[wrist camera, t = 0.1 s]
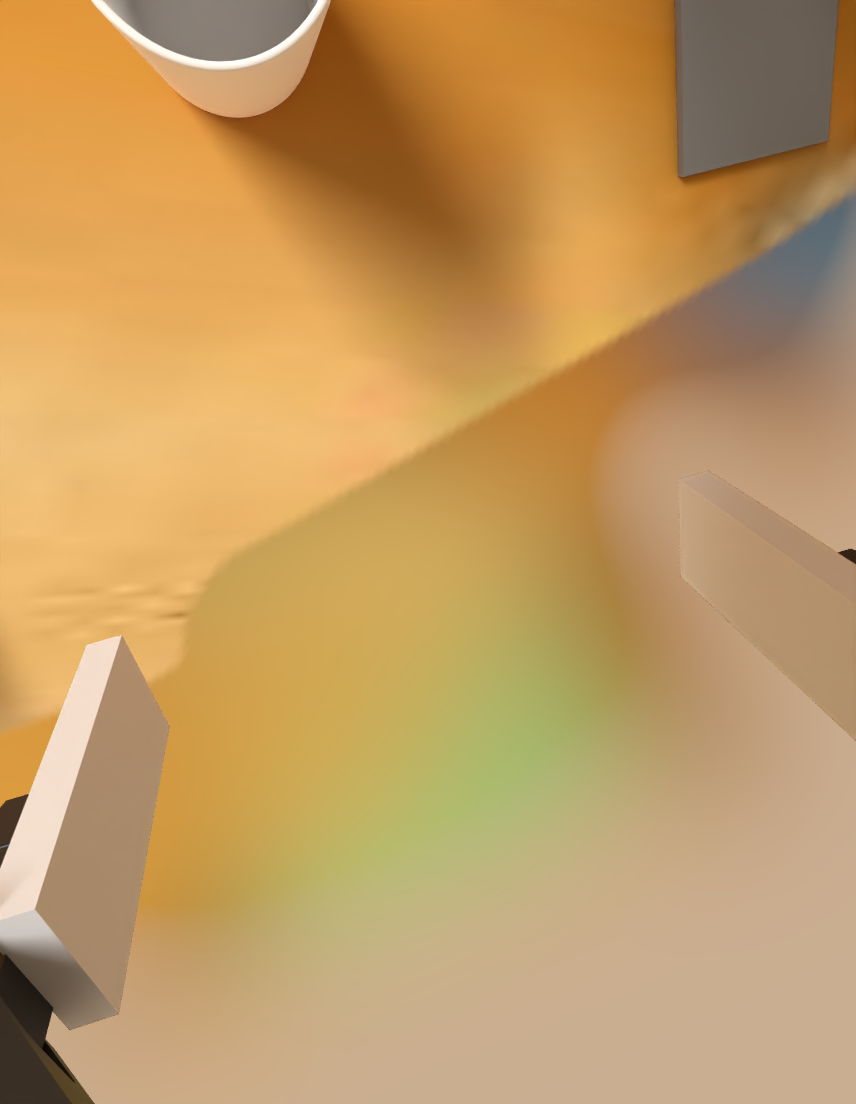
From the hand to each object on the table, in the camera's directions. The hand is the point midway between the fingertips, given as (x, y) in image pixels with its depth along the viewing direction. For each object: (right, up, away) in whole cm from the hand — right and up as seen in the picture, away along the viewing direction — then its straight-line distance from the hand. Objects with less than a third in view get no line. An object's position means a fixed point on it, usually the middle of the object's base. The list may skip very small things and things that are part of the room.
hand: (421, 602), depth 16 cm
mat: (+18, +28, +22) cm, 40 cm away
